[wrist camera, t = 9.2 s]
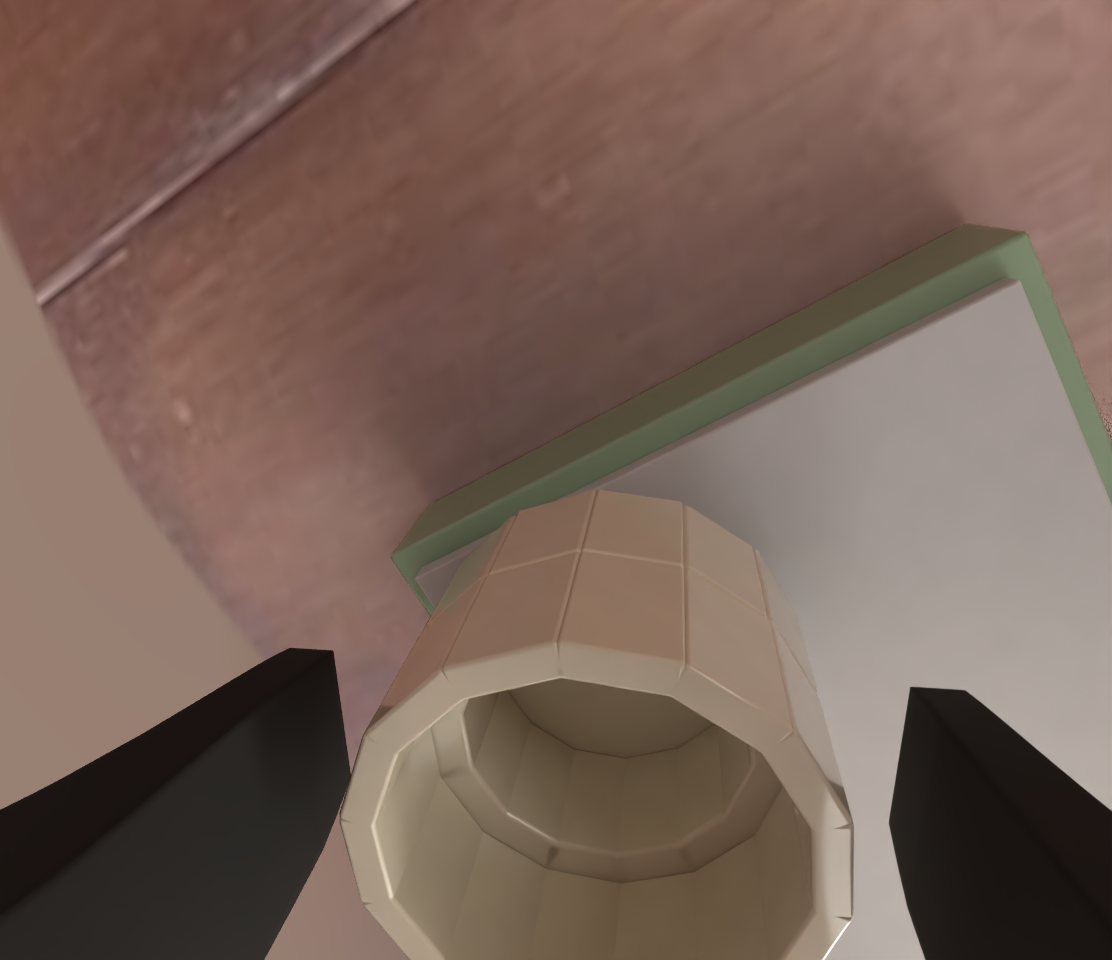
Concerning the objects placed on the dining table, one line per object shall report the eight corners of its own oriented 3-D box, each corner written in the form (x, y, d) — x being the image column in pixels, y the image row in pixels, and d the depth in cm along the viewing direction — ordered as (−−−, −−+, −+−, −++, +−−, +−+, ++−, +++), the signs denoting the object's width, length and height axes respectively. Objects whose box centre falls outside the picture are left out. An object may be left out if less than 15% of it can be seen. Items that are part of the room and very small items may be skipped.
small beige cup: (416, 709, 13) (298, 945, 9) (509, 424, 11) (414, 563, 7) (709, 820, 13) (724, 1108, 9) (856, 551, 11) (961, 767, 7)
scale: (427, 504, 15) (378, 568, 12) (984, 211, 12) (1064, 219, 9) (778, 1040, 18) (794, 1170, 16) (1276, 921, 15) (1388, 1059, 13)
